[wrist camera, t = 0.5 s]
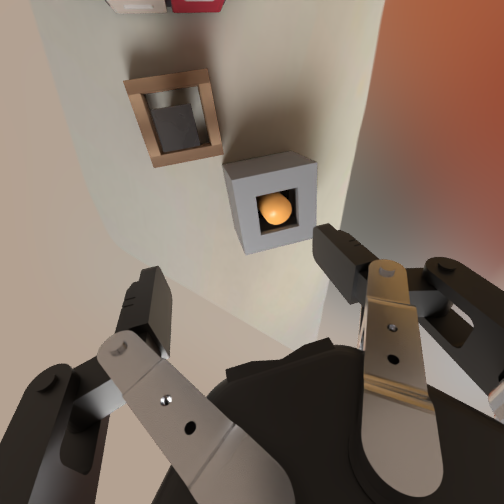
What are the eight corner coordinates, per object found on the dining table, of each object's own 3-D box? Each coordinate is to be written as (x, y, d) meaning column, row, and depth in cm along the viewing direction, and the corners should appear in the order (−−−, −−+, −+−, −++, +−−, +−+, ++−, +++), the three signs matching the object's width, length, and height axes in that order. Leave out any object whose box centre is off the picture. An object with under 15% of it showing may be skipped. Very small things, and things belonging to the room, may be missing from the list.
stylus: (162, 107, 28) (150, 110, 18) (188, 103, 28) (190, 103, 18) (170, 135, 29) (164, 152, 19) (195, 131, 30) (200, 145, 20)
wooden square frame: (128, 83, 26) (122, 80, 23) (205, 71, 27) (207, 68, 24) (156, 162, 30) (153, 168, 28) (220, 150, 31) (223, 154, 29)
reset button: (252, 188, 32) (262, 200, 28) (277, 182, 33) (290, 194, 29) (255, 212, 34) (265, 227, 30) (279, 207, 35) (292, 221, 31)
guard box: (221, 164, 32) (231, 180, 26) (291, 150, 34) (317, 162, 27) (234, 228, 38) (245, 255, 31) (293, 215, 39) (316, 237, 33)
